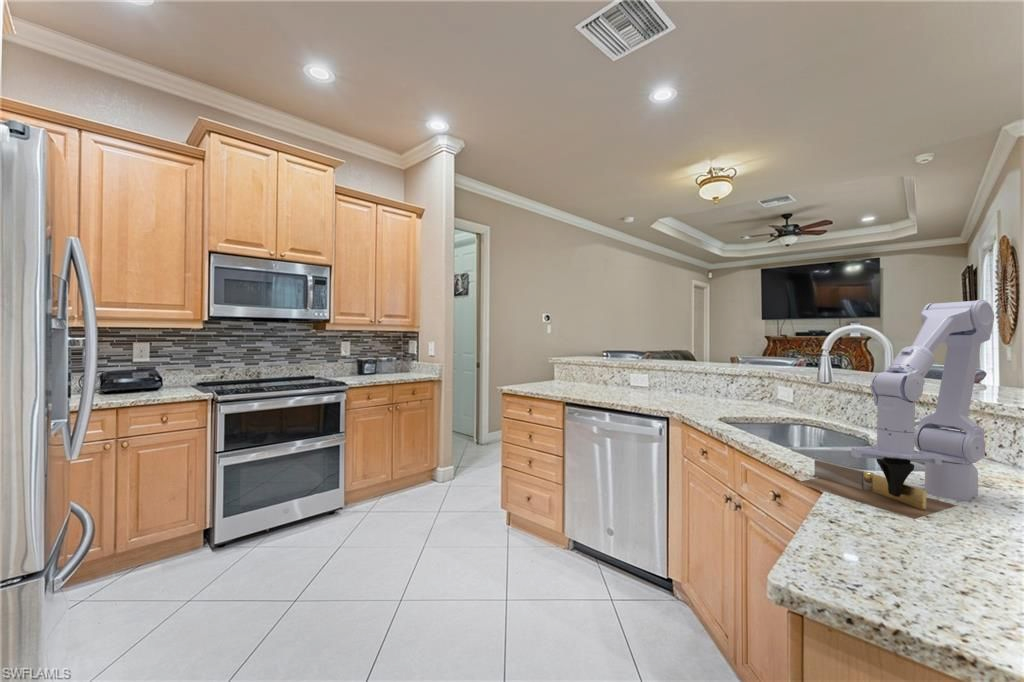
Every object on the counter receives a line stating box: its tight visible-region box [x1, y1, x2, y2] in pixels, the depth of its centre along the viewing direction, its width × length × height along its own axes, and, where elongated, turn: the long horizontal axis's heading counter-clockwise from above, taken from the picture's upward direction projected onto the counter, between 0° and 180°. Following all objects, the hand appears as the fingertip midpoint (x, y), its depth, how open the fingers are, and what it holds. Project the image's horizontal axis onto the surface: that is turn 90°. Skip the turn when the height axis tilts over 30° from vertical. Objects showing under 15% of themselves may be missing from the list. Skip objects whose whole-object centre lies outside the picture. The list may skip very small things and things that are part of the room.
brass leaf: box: [864, 471, 927, 510], centre depth 88 cm, size 12×2×4 cm, turn 7°
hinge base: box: [794, 459, 958, 520], centre depth 92 cm, size 17×23×5 cm
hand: (894, 495), depth 86 cm, fingers closed
